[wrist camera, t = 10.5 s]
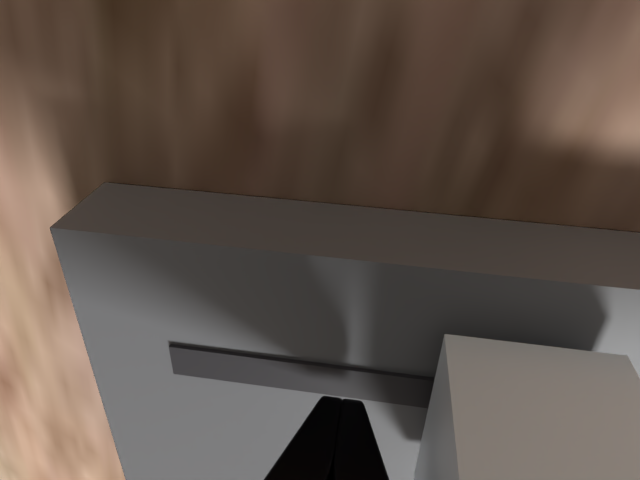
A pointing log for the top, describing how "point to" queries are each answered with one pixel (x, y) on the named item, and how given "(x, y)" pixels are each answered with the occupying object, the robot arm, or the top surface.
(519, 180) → the top surface
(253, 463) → the console
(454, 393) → the white fader
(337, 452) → the robot arm
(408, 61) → the top surface
